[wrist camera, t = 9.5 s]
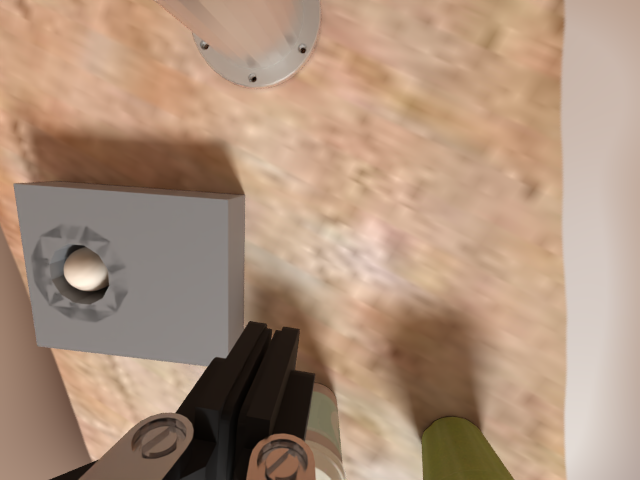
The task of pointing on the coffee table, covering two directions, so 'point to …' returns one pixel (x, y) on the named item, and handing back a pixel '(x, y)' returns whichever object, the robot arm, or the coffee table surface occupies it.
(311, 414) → the coffee cup
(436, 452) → the plant pot
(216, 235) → the grey flat block
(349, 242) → the coffee table surface
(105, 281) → the ball
